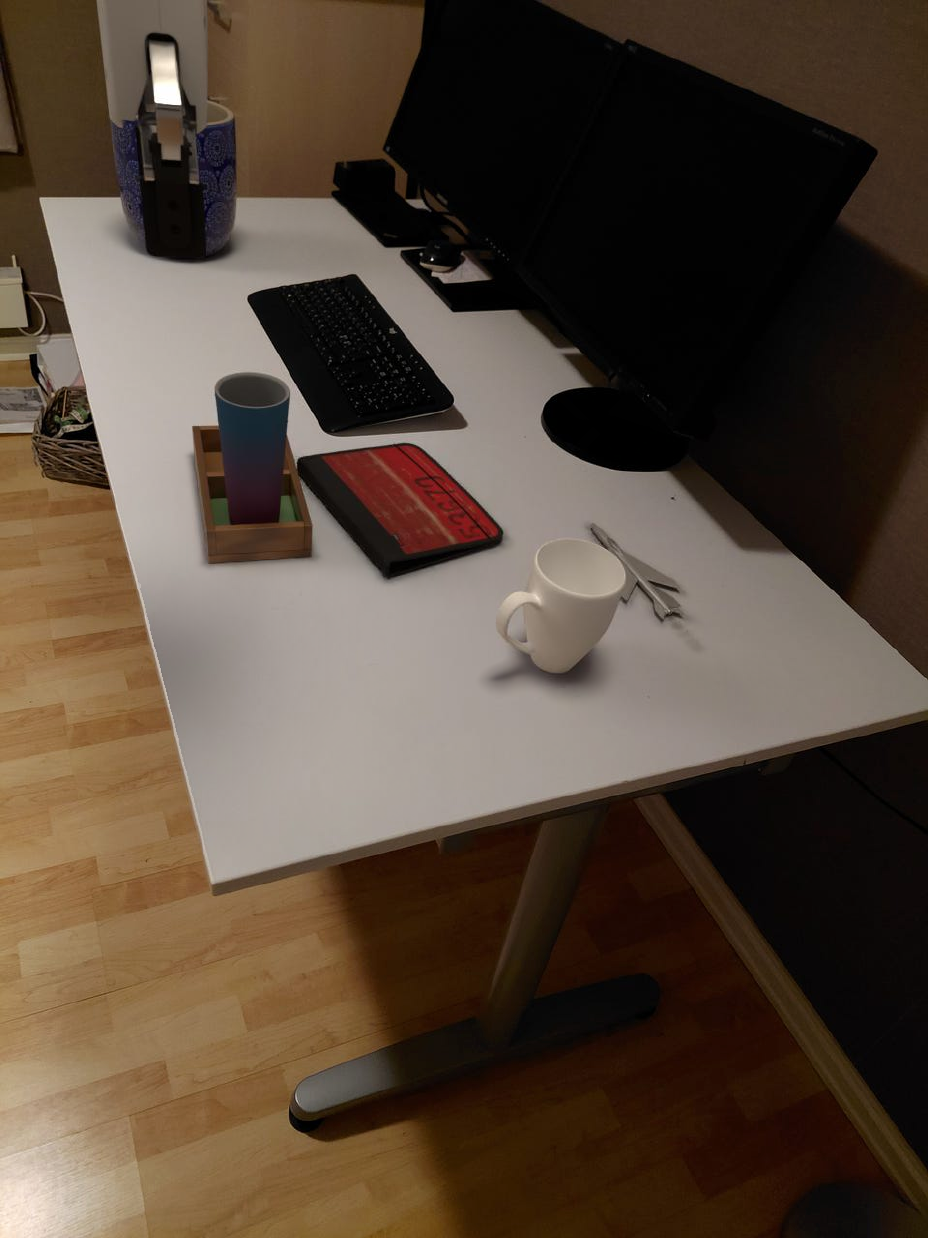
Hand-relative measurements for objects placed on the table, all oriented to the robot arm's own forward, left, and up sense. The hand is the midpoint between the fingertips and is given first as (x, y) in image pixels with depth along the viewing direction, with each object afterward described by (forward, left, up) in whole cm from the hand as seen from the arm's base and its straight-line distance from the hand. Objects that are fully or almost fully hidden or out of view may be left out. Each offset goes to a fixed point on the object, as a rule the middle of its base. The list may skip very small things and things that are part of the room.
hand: (172, 224), depth 51 cm
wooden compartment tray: (+6, +22, -36) cm, 43 cm away
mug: (+30, -6, -36) cm, 48 cm away
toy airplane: (+46, +4, -36) cm, 59 cm away
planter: (+4, +97, -36) cm, 104 cm away
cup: (+6, +17, -35) cm, 40 cm away
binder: (+23, +20, -36) cm, 48 cm away
